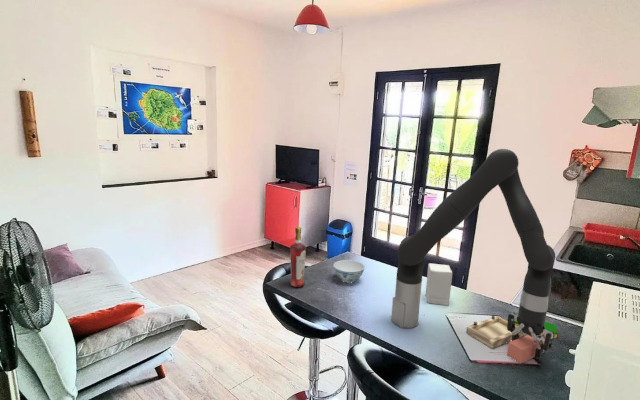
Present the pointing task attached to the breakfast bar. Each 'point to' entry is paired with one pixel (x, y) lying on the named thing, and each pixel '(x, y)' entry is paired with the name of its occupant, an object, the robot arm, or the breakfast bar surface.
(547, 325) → the dish sponge
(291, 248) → the liquor
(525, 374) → the breakfast bar surface
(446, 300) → the supplement box
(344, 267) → the chinaware
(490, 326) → the wooden tray
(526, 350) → the salmon pink brick
